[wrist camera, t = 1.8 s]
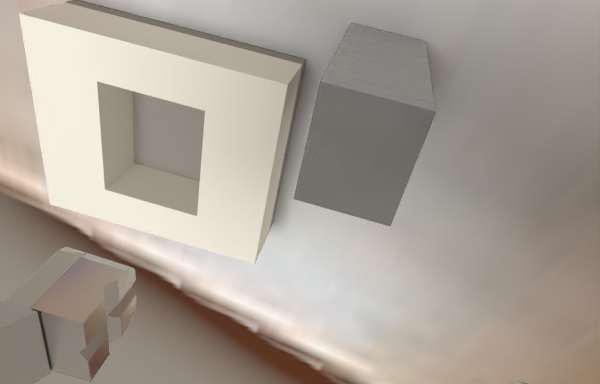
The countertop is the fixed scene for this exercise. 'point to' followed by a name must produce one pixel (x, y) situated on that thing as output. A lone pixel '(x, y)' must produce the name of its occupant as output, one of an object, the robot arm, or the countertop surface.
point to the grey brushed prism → (367, 124)
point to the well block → (161, 124)
